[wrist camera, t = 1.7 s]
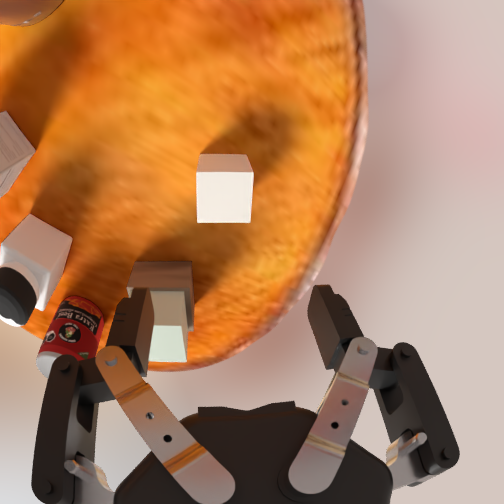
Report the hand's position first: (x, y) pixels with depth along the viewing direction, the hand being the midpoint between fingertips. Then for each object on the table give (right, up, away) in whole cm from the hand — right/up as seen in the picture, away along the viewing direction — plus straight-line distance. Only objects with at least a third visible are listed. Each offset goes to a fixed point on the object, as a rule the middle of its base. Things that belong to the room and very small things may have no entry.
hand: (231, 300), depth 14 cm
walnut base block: (-10, -2, +22) cm, 24 cm away
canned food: (-24, -7, +23) cm, 34 cm away
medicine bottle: (-25, +3, +16) cm, 30 cm away
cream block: (-2, +10, +15) cm, 18 cm away
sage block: (-9, -4, +18) cm, 20 cm away
